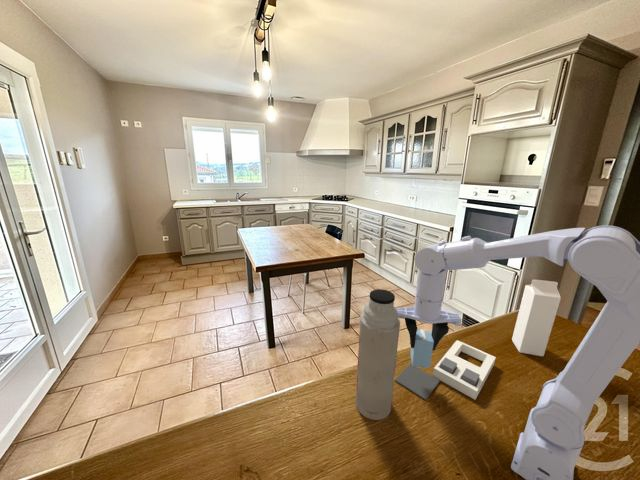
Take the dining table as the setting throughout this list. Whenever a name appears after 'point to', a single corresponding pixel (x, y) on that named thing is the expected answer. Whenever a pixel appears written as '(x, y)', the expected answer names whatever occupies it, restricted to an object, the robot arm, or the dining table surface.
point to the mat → (417, 381)
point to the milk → (536, 317)
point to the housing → (462, 364)
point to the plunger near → (470, 377)
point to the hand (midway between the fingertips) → (422, 346)
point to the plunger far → (448, 365)
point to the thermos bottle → (377, 355)
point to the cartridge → (422, 349)
